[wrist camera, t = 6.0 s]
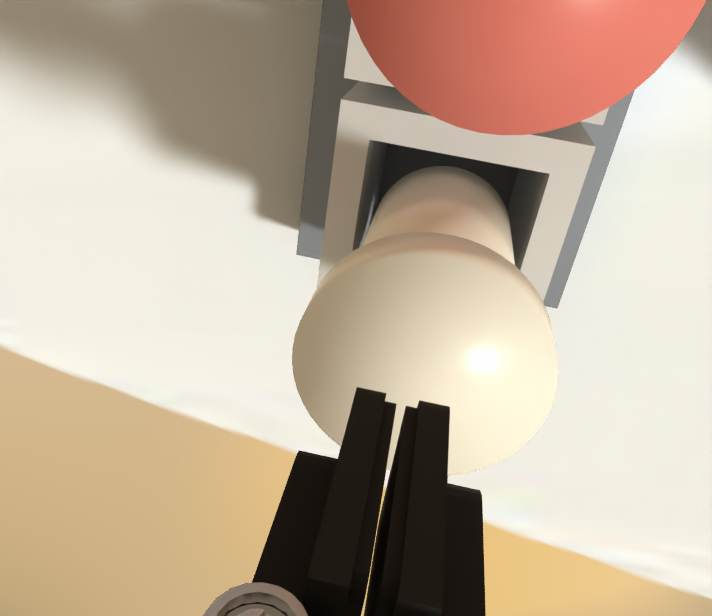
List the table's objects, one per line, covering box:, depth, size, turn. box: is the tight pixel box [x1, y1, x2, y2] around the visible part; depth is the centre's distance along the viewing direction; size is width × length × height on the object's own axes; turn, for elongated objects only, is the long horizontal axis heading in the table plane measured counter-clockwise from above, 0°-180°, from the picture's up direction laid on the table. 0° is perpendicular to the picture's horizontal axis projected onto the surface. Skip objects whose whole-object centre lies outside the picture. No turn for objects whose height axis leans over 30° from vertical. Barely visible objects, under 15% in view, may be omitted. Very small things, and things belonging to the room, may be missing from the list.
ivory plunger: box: [292, 166, 558, 476], centre depth 17 cm, size 6×6×8 cm
